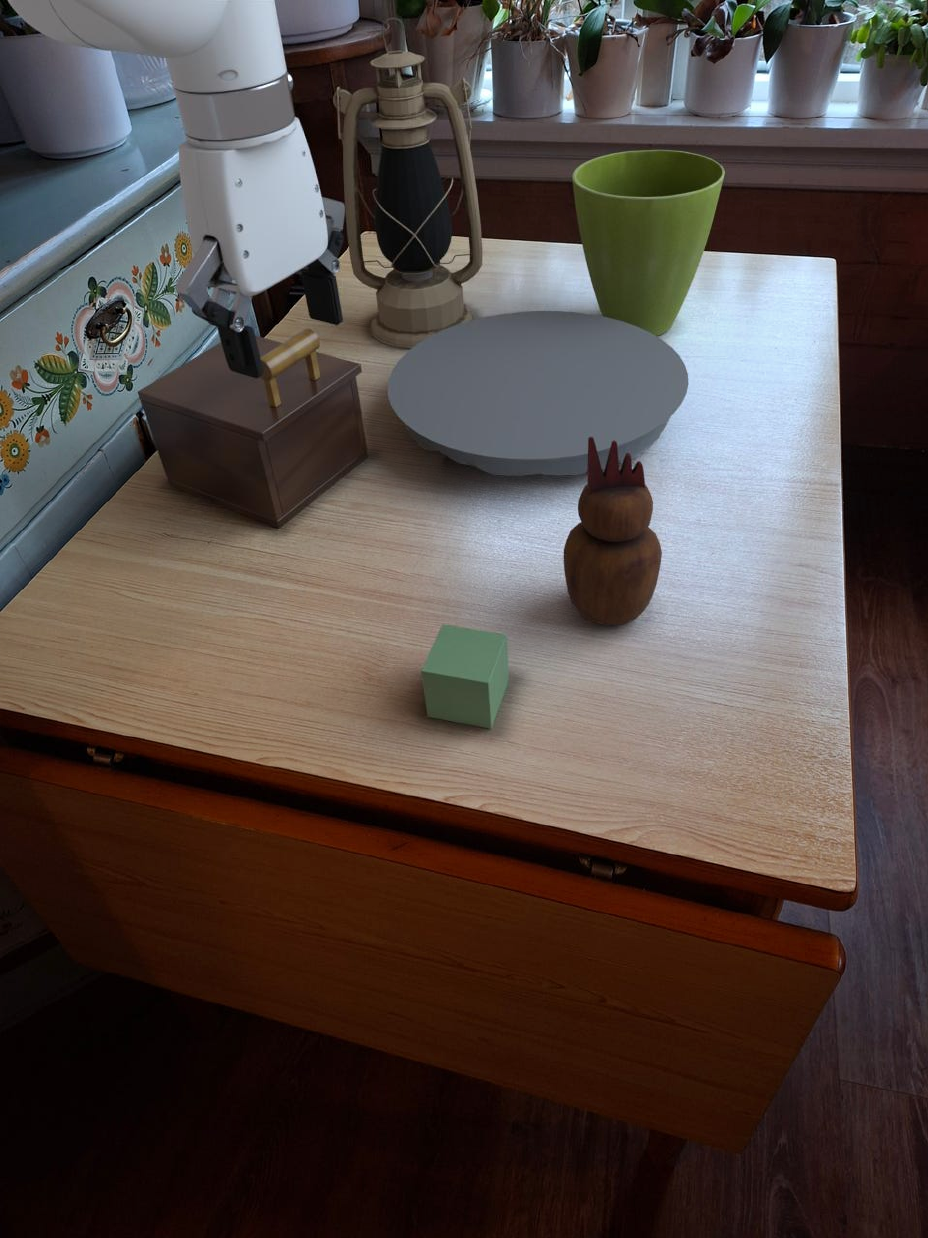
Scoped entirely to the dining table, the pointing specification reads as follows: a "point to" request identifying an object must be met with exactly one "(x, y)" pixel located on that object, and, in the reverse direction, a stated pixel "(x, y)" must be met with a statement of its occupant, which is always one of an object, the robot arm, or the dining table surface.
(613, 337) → the flat disc
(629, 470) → the wooden figurine
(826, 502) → the dining table surface
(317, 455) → the chest
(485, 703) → the block
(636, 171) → the flower pot
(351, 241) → the lantern
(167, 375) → the lid
